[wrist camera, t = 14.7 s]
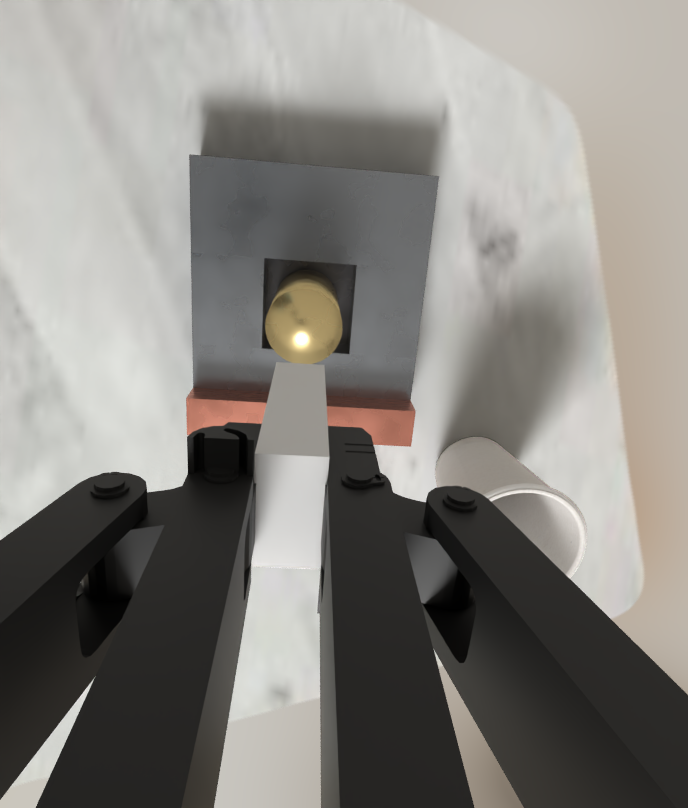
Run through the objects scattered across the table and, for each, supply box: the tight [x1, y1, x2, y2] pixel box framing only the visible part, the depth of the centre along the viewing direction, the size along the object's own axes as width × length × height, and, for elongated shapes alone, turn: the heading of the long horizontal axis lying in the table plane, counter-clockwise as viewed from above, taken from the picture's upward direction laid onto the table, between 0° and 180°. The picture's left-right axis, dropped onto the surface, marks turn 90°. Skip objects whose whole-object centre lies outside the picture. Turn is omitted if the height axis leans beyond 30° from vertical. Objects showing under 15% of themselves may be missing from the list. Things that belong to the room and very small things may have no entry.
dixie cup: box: [435, 437, 587, 579], centre depth 37 cm, size 8×8×10 cm
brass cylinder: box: [265, 270, 342, 364], centre depth 32 cm, size 4×4×8 cm
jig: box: [186, 155, 439, 446], centre depth 34 cm, size 16×14×5 cm
